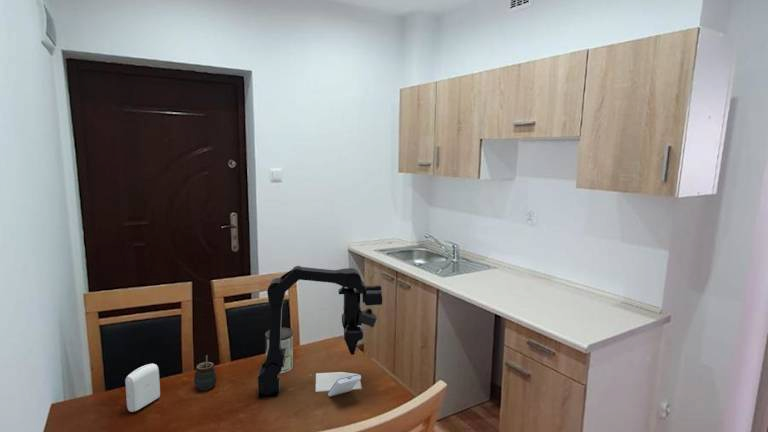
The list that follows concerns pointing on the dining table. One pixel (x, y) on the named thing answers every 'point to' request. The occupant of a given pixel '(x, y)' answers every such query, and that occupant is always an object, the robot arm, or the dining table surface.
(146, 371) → the photo printer
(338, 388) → the hard drive
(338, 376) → the rubber mat
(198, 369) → the mate gourd
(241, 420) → the dining table surface
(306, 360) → the dining table surface
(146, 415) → the dining table surface
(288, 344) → the coffee can
